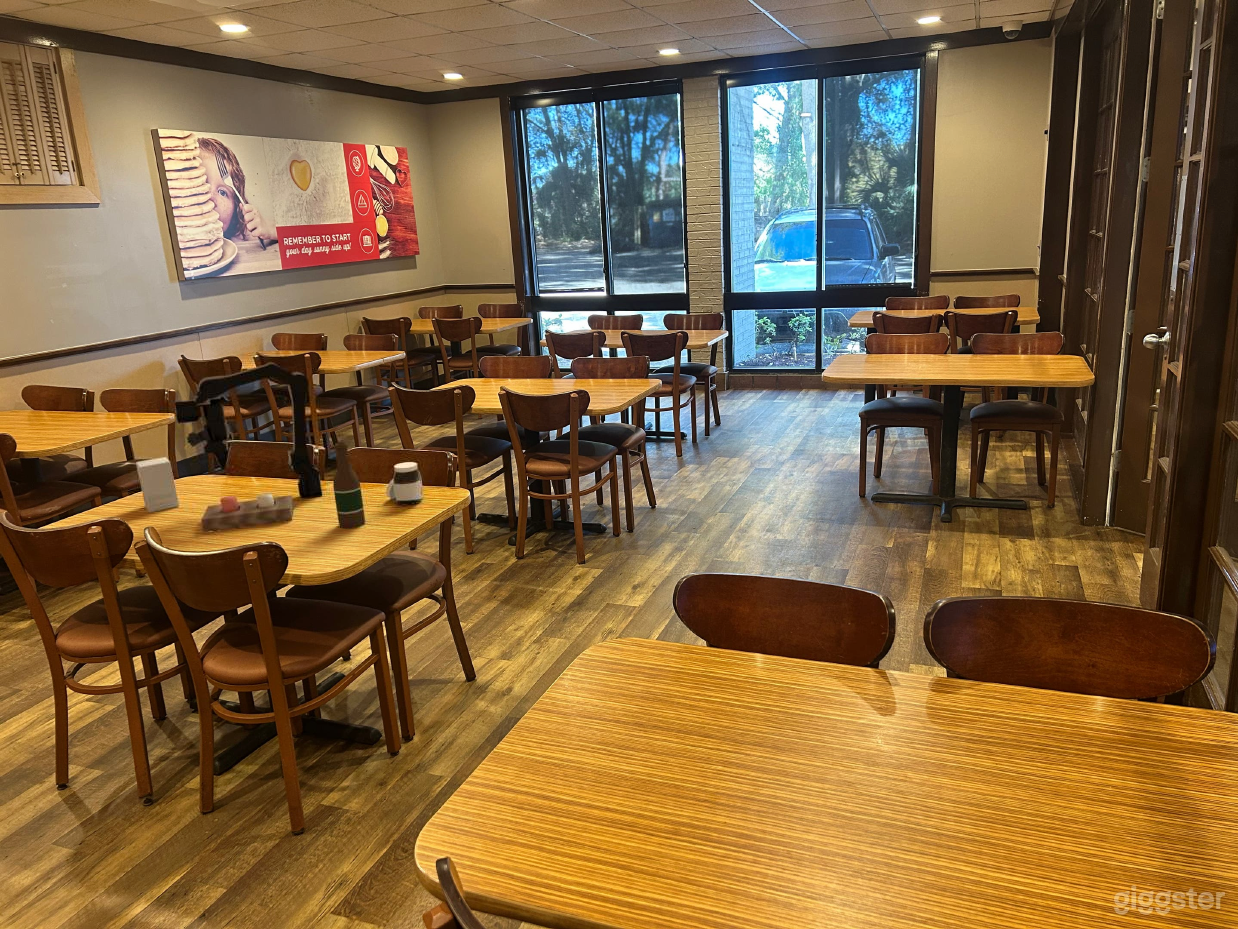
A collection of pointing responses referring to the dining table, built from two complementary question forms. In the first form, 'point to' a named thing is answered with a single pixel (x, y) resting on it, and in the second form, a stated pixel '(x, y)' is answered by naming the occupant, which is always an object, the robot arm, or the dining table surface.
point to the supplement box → (157, 484)
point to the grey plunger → (265, 500)
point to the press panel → (248, 514)
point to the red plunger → (229, 504)
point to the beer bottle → (347, 491)
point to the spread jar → (406, 484)
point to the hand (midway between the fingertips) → (223, 468)
